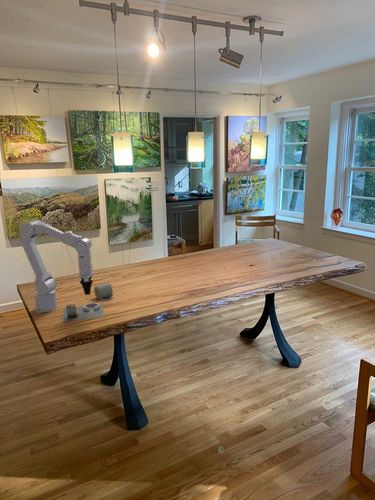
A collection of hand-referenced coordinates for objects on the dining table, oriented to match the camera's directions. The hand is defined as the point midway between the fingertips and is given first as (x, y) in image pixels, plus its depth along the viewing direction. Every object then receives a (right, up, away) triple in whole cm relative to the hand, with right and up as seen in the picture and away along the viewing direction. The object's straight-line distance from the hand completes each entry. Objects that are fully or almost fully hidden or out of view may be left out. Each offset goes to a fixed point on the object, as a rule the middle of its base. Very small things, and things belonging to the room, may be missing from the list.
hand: (87, 291), depth 179 cm
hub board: (-2, -10, -1) cm, 11 cm away
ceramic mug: (+4, -6, +19) cm, 20 cm away
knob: (-6, -11, -6) cm, 14 cm away
